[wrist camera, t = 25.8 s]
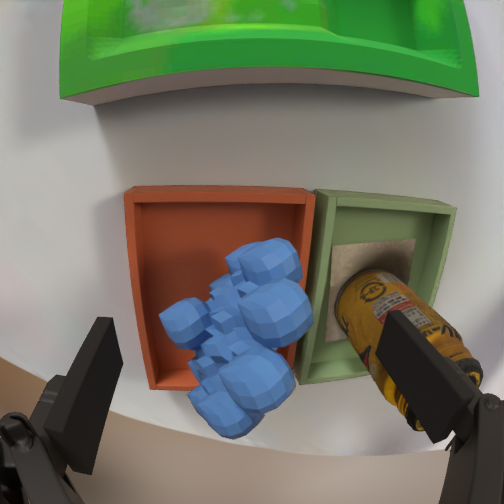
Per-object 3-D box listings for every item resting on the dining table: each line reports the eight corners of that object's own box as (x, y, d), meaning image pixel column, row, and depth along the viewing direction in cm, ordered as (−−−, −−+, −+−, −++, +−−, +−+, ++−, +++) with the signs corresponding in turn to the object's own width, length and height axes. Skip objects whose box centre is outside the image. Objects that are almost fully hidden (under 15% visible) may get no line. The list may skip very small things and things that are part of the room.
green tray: (437, 200, 22) (456, 207, 20) (398, 351, 27) (410, 366, 25) (315, 188, 20) (328, 195, 18) (292, 366, 26) (299, 385, 23)
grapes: (198, 185, 19) (181, 256, 8) (295, 220, 20) (387, 317, 9) (151, 333, 22) (125, 469, 11) (234, 355, 24) (255, 488, 13)
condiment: (324, 341, 24) (385, 456, 13) (331, 245, 21) (432, 346, 10) (397, 326, 25) (473, 416, 14) (413, 237, 22) (524, 310, 11)
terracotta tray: (303, 188, 20) (316, 195, 18) (283, 366, 26) (289, 386, 23) (133, 186, 19) (123, 192, 16) (153, 369, 24) (149, 389, 22)
